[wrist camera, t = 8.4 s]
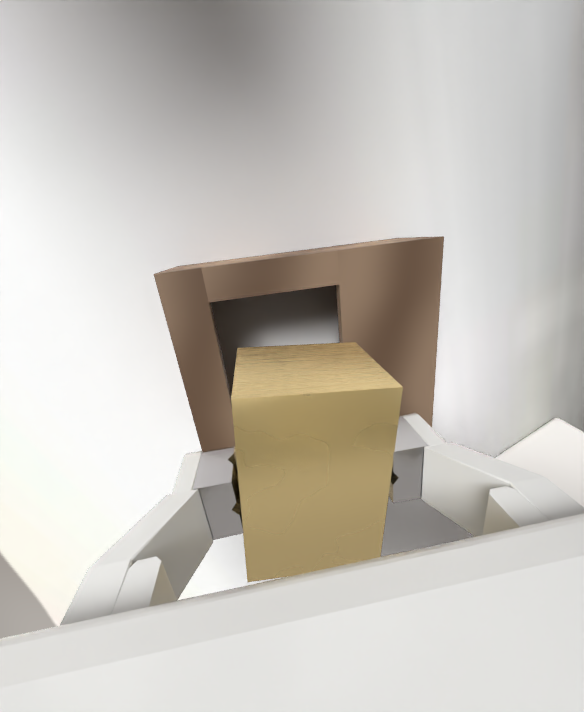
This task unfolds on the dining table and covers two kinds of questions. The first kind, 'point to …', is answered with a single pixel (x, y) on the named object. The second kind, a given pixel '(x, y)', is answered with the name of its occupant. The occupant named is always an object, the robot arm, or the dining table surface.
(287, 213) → the dining table surface
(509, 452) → the medicine bottle
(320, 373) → the brushed brass pillar
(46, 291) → the dining table surface
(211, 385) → the brown wooden frame
